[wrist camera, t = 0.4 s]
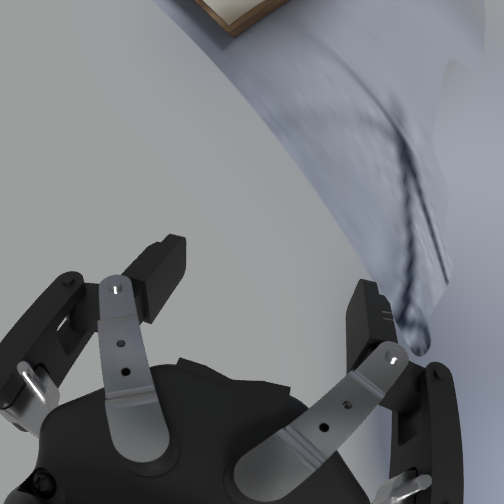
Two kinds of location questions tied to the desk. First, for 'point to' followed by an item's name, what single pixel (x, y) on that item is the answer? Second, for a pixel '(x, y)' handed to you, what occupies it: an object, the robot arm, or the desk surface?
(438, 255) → the desk surface
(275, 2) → the tray
